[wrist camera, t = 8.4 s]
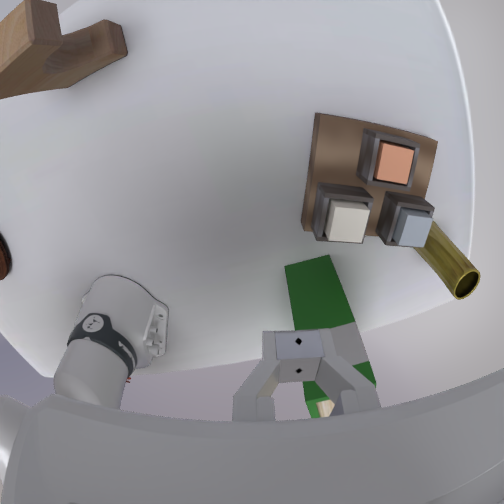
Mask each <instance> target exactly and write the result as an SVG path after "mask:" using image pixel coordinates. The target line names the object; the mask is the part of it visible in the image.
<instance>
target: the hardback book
mask: <svg viewBox="0 0 504 504" xmlns="http://www.w3.org/2000/svg"><path fill="white" fill-rule="evenodd" d="M285 272H286V278H287V284H288V290H289V296H290V302H291V308H292V314H293V320H294V327H295V331H296V330H309V329H325V328H329V329H330V331H331V335H332V338H333V342H334V346H335V349H336V353H337V356H341V357H342V358H343V359H345V360H346V361H347V362H348V363H349V364H350V365H352V366H353V367H354V368H355V369H356V370H357V371H358V372H360V373H361V374H362V375H363V376H364V377H365V378H367V379H368V380H369V381H370V382H371V383H373V384H374V385H375V388H376V381H375V377H374V374H373V371H372V368H371V365H370V362H369V359H368V356H367V353H366V350H365V347H364V344H363V342H362V339H361V336H360V333H359V330H358V328H357V325H356V322H355V319H354V317H353V314H352V311H351V309H350V306H349V303H348V301H347V298H346V296H345V293H344V290H343V288H342V285H341V283H340V280H339V278H338V275H337V273H336V270H335V268H334V266H333V263H332V261H331V258H330V256H329V255H325V256H321V257H317V258H314V259H310V260H306V261H302V262H299V263H295V264H291V265H287V266H285ZM303 388H304V395H305V402H306V405H307V407H308V410H309V412H310V415H311V418H320V417H329V415H330V413H331V411H332V410H333V408H334V406H335V404H334V403H333V402H332V401H331V400H330V398H329V397H328V396H327V395H326V394H325V393H324V391H323V390H322V389H321V388H320V387H319V386H318V384H317V383H316V382H315V381H303Z"/></svg>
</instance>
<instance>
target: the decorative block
mask: <svg viewBox="0 0 504 504" xmlns="http://www.w3.org/2000/svg"><path fill="white" fill-rule="evenodd" d="M127 53H128V52H127V49H126V45H125V41H124V37H123V33H122V29H121V25H118V24H116V23H113V22H111V21H108V20H102V21H100V22H98V23H96V24H93V25H91V26H89V27H87V28H84V29H81V30H78V31H75V32H73V33H69V34H65V35H61V29H60V24H59V18H58V12H57V4H54V3H50V2H46V1H42V0H24V1H23V2H22V3H21V4H19V5H18V6H17V7H16V8H15V9H14V10H13V11H12V12H11V13H10V14H8V15H7V16H6V17H5V18H4V19H3V20H2V21H1V22H0V99H4V98H8V97H13V96H17V95H22V94H28V93H33V92H40V91H46V90H53V89H61V88H68V87H70V86H71V85H73V84H75V83H76V82H78V81H80V80H81V79H83V78H85V77H86V76H88V75H90V74H92V73H93V72H95V71H97V70H99V69H101V68H103V67H105V66H106V65H108V64H110V63H112V62H114V61H116V60H118V59H120V58H122V57H125V56H126V55H127Z"/></svg>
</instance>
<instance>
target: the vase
mask: <svg viewBox="0 0 504 504" xmlns="http://www.w3.org/2000/svg"><path fill="white" fill-rule="evenodd" d="M413 248H414V249H415V250H416V251H417V252H418V253H419V254H420V255H421V257H422V258H423V259H424V260H425V261H426V262H427V263H428V264H429V265H430V267H431V268H432V269H433V270H434V271H435V272H436V273H437V274H438V276H439V277H440V278H441V280H442V281H443V282H444V284H445V285H446V287H447V288H448V289H449V291H450V292H451V293H452V295H453V296H454V297H455V298H456V299H458V300H460V299H464V298H465V297H467V296H469V295H470V294H471V293H472V292H473V291H474V290H475V289H476V287H477V285H478V283H479V281H480V272H479V271H478V270H477V269H476V268H475V267H474V266H473V265H472V264H471V262H470V261H469V260H468V259H467V258H466V257H465V255H464V254H463V253H462V252H461V251H460V250H459V249H458V248H457V247H456V246H455V245H454V243H453V242H452V241H451V240H450V239H449V238H448V237H447V236H446V235H445V234H444V232H443V231H442V230H441V229H440V228H439V227H438V226H437V224H436V223H435V222H434V221H432V224H431V227H430V230H429V233H428V236H427V239H426V242H425V245H424V247H421V248H416V247H413Z"/></svg>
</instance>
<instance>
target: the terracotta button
mask: <svg viewBox="0 0 504 504" xmlns="http://www.w3.org/2000/svg"><path fill="white" fill-rule="evenodd" d="M413 154H414V150H412V149H410V148H407V147H405V146H403V145H400V144H396V143H392V142H387V141H383V140H380V142H379V147H378V153H377V159H376V164H375V169H374V174H373V176H374V177H375V178H376V179H380V180H386V181H392V182H397V183H403V184H407V181H408V177H409V173H410V168H411V163H412V159H413Z"/></svg>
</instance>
